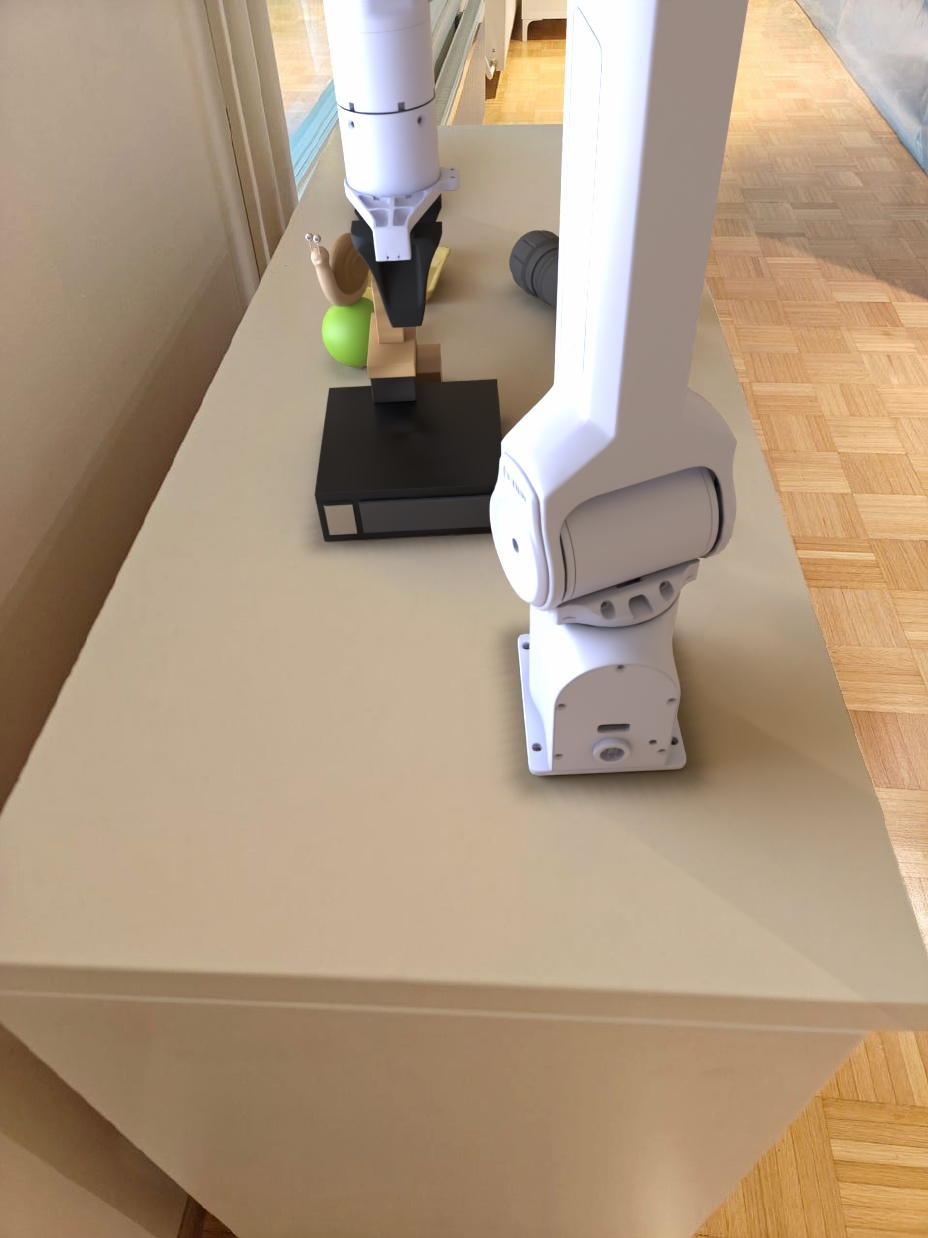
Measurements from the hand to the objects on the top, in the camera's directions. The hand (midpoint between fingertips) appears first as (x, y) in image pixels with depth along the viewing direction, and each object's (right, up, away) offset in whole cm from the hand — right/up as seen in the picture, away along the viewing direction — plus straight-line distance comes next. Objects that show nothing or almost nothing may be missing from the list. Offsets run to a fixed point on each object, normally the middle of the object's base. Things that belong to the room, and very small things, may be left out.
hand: (407, 315), depth 63 cm
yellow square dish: (-2, +9, +21) cm, 23 cm away
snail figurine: (-5, 0, +12) cm, 13 cm away
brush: (-1, -3, +3) cm, 5 cm away
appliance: (+1, -11, +1) cm, 11 cm away
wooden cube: (0, -4, +5) cm, 7 cm away
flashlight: (+13, +4, +15) cm, 21 cm away
